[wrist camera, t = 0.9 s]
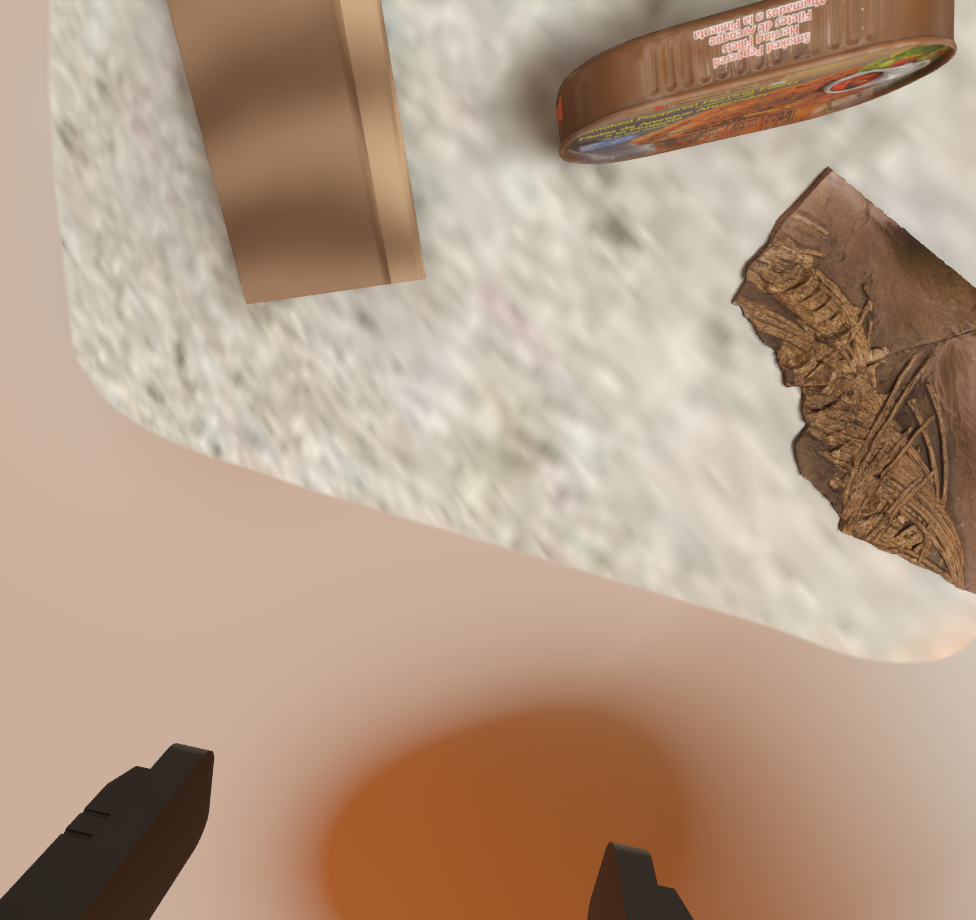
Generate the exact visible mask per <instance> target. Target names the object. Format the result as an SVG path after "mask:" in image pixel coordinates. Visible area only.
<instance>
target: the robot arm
mask: <svg viewBox="0 0 976 920" xmlns="http://www.w3.org/2000/svg"><path fill="white" fill-rule="evenodd" d="M213 765H214V754H213V752H212V751H209V750H205V749H200V748H196V747H191V746H187V745H182V744H178V743H175V744H173V745H171V746H170V747H169V748H168V749H167V751H165V753H164V754H163V755H162V756H161V757H160V758H159V760H158V761H157V762H156V763H155V764H154V765H153V767H152V768H151V769H148V768H143V767H139V766H135V767H134V768H132V769H131V770H129V771H127V772H126V773H124V774H123V775H121V776H119V777H118V778H116V779H115V780H113V781H111V782H110V783H108V784H107V785H106V786H105V787H104V788H103V789H102V790H101V791H100V792H99V793H98V794H97V796H96V797H95V798H94V799H93V800H92V801H91V802H90V803H89V804H88V805H87V806H86V807H85V809H84V812H83V813H80V814H79V815H78V816H77V817H76V818H75V819H74V820H73V822H72V823H71V824H70V825H69V826H68V827H67V828H66V830H65V832H64V834H60V836H59V837H58V838H57V839H56V840H55V841H54V842H53V843H52V844H51V845H50V846H49V847H48V848H47V850H46V851H45V852H44V853H43V854H42V855H41V856H40V857H39V858H38V859H37V860H36V861H35V863H34V864H33V865H32V866H31V867H30V868H29V869H28V870H27V871H26V872H25V873H24V874H23V875H22V876H21V878H20V879H19V880H18V881H17V882H16V883H15V884H14V885H13V886H12V887H11V888H10V889H9V891H8V892H7V893H6V894H5V895H4V896H3V897H2V898H1V899H0V920H149V919H150V918H151V916H152V915H153V913H154V912H155V910H156V909H157V907H158V905H159V904H160V902H161V901H162V899H163V897H164V896H165V895H166V893H167V891H168V890H169V888H170V887H171V885H172V884H173V882H174V881H175V879H176V877H177V876H178V874H179V873H180V871H181V870H182V868H183V867H184V865H185V863H186V862H187V860H188V859H189V857H190V856H191V854H192V853H193V851H194V849H195V848H196V846H197V844H198V842H199V840H200V838H201V835H202V833H203V831H204V828H205V825H206V822H207V819H208V814H209V806H210V796H211V786H212V775H213ZM588 920H693V918H692V916H691V915H690V913H689V911H688V910H687V908H686V907H685V905H684V903H683V902H682V900H681V898H680V897H679V895H678V894H677V892H676V890H675V889H673V888H668V887H664V886H659V885H658V884H657V880H656V875H655V871H654V867H653V862H652V858H651V855H650V853H649V851H647V850H644V849H640V848H635V847H631V846H626V845H622V844H617V843H613V842H609V843H608V845H607V847H606V850H605V853H604V857H603V860H602V863H601V867H600V870H599V873H598V877H597V880H596V883H595V886H594V890H593V893H592V896H591V900H590V904H589V910H588Z"/></svg>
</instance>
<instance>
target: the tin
mask: <svg viewBox="0 0 976 920" xmlns="http://www.w3.org/2000/svg"><path fill="white" fill-rule="evenodd" d="M956 51H957V46H956V44H955V41H954V0H764V1H760V2H757V3H754V4H750V5H747V6H743V7H739V8H736V9H732V10H728V11H725V12H722V13H718V14H714V15H711V16H707V17H704V18H701V19H697V20H693V21H690V22H687V23H684V24H680V25H676V26H673V27H669V28H666V29H663V30H659V31H656V32H652V33H649V34H646V35H643V36H640V37H637V38H635V39H632V40H629V41H627V42H624V43H622V44H620V45H617V46H615V47H613V48H611V49H608V50H606V51H604V52H602V53H600V54H598V55H597V56H595V57H593V58H592V59H590V60H588V61H587V62H585V63H583V64H582V65H581V66H579V67H578V68H577V69H576V70H574V71H573V72H572V73H571V74H570V75H569V76H568V77H567V78H566V79H565V80H564V81H563V83H562V85H561V87H560V90H559V93H558V96H557V100H556V109H557V119H558V126H559V133H560V141H561V146H560V150H559V154H560V157H561V158H562V159H563V160H565V161H568V162H572V163H581V164H604V163H613V162H620V161H626V160H631V159H637V158H642V157H647V156H651V155H656V154H660V153H664V152H669V151H673V150H678V149H682V148H686V147H691V146H695V145H700V144H704V143H708V142H713V141H717V140H721V139H726V138H730V137H735V136H739V135H744V134H748V133H753V132H757V131H762V130H766V129H770V128H775V127H779V126H783V125H788V124H792V123H797V122H801V121H805V120H809V119H813V118H816V117H820V116H823V115H826V114H830V113H833V112H837V111H840V110H843V109H846V108H849V107H853V106H856V105H859V104H862V103H864V102H867V101H870V100H873V99H875V98H877V97H880V96H883V95H885V94H888V93H890V92H892V91H894V90H897V89H899V88H901V87H904V86H906V85H908V84H910V83H912V82H914V81H916V80H918V79H920V78H922V77H924V76H926V75H928V74H930V73H932V72H934V71H935V70H937V69H939V68H940V67H941V66H943V65H944V64H946V63H947V62H948V61H949V60H950V59H951V58H952V57H953V56H954V55H955V53H956Z"/></svg>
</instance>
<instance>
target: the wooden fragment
mask: <svg viewBox="0 0 976 920" xmlns="http://www.w3.org/2000/svg"><path fill="white" fill-rule="evenodd" d="M886 215H887V214H884V213H883V211H882V210H881V209H879V208H876V207H874V205H873V203H872V202H871V201H869V200H868V199H866V198H864V196H863V195H862V194H861V193H860V192H859V191H857V190H856V189H855V188H854V187H853V186H851V185H850V184H848V183H847V182H846V180H845V179H843V178H842V177H840V176H839V175H838V174H837V173H836V172H834V171H833V170H832V169H830V168H829V167H827V168H826V170H825V171H824V172H823V173H822V175H821V176H820V177H819V178H818V179H817V180H816V181H815V182H814V184H812V186H811V187H810V188H809V189H808V190H807V191H806V192H805V193H804V194H803V195H802V196H801V197H800V198H799V199H798V200H797V201H796V202H795V203H794V204H793V205H792V206H791V207H790V208H789V209H787V210H786V211H785V212H784V213H783V214H782V215H781V216H780V217H779V218H778V219H777V220H776V222H775V224H774V226H773V228H772V231H771V234H770V241H769V242H768V244H767V245H766V246H765V248H764V249H763V250H762V251H761V253H760V254H759V255H758V256H757V257H756V258H755V259H754V260H753V261H752V262H751V263H749V264H748V267H747V270H746V282H745V284H744V285H743V286H742V288H741V290H740V292H739V293H738V294H737V296H736V297H735V299H734V301H733V305H737V306H740V307H741V309H742V311H743V313H744V316H745V318H747V319H750V322H751V323H753V324H754V325H755V327H756V330H757V333H758V335H759V337H760V338H761V339H762V341H763V342H765V343H766V344H767V345H768V346H769V347H770V348H774V350H775V351H776V357H777V358H779V366H780V368H781V369H782V372H783V374H784V383H785V386H786V387H791V386H797V387H801V389H802V394H801V396H802V399H803V401H802V406H803V415H804V417H805V422H806V423H807V425H806V427H805V428H804V429H803V432H802V434H801V435H800V437H799V441H798V442H797V444H796V447H795V449H796V456H797V461H798V464H799V467H800V469H801V474H802V476H803V477H804V478H807V479H808V480H810V481H811V482H813V483H814V484H815V486H816V488H817V489H818V490H819V491H820V492H821V493H823V494H824V495H825V497H826V498H827V500H829V501H831V502H832V503H833V507H834V509H835V510H836V511H837V513H838V514H839V516H840V517H841V521H840V524H839V529H840V530H841V532H843V533H845V534H848V535H852V536H853V537H855V538H858V539H860V540H864V541H866V542H868V543H870V544H872V545H874V546H875V547H877V548H878V549H879V550H882V551H885V552H888V553H891V554H897V555H900V556H901V557H902V558H904V559H906V560H908V561H909V562H911V563H912V564H916V565H917V566H920V567H923V568H925V569H929V570H931V571H933V572H935V573H937V574H941V575H943V576H944V577H945V578H946V580H947V581H948V582H949V583H951V584H953V585H955V587H956V588H958V589H962V590H966V591H969V592H972V593H975V594H976V288H975V287H973V286H972V285H971V284H970V283H969V282H968V281H966V280H965V279H964V278H963V277H962V276H961V275H959V274H958V273H957V272H956V271H955V270H953V269H952V268H951V267H950V266H948V265H946V264H945V263H944V261H942V260H941V259H939V258H938V257H937V256H936V255H935V254H934V253H932V252H931V251H930V250H929V249H927V248H926V247H925V246H924V245H922V244H921V243H920V242H919V241H918V240H916V239H915V238H914V237H913V236H912V235H910V234H909V233H908V232H907V231H906V230H905V229H904V228H902V227H900V226H899V225H898V224H897V223H896V222H895V221H894V220H892V219H891V218H889V217H887V216H886Z"/></svg>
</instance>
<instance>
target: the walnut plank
mask: <svg viewBox="0 0 976 920" xmlns="http://www.w3.org/2000/svg"><path fill="white" fill-rule="evenodd" d="M167 2H168V6H169V10H170V14H171V17H172V21H173V25H174V29H175V33H176V37H177V40H178V44H179V48H180V52H181V56H182V59H183V63H184V67H185V71H186V75H187V79H188V82H189V86H190V90H191V94H192V98H193V102H194V105H195V109H196V113H197V117H198V121H199V125H200V128H201V132H202V136H203V140H204V144H205V147H206V151H207V155H208V159H209V163H210V167H211V170H212V174H213V178H214V182H215V186H216V190H217V193H218V197H219V201H220V205H221V209H222V213H223V216H224V220H225V224H226V228H227V232H228V236H229V239H230V243H231V247H232V251H233V255H234V258H235V262H236V266H237V270H238V274H239V278H240V281H241V285H242V289H243V293H244V297H245V301H246V304H252V303H259V302H266V301H273V300H280V299H287V298H294V297H301V296H308V295H315V294H322V293H329V292H336V291H343V290H350V289H357V288H364V287H371V286H378V285H385V284H391V283H398V282H405V281H412V280H419V279H425V278H426V275H425V269H424V263H423V257H422V251H421V245H420V239H419V232H418V226H417V220H416V214H415V208H414V202H413V196H412V190H411V183H410V177H409V171H408V165H407V159H406V153H405V147H404V140H403V134H402V128H401V122H400V116H399V110H398V104H397V97H396V91H395V85H394V79H393V73H392V67H391V61H390V55H389V48H388V42H387V36H386V30H385V24H384V18H383V12H382V5H381V0H167Z"/></svg>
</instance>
